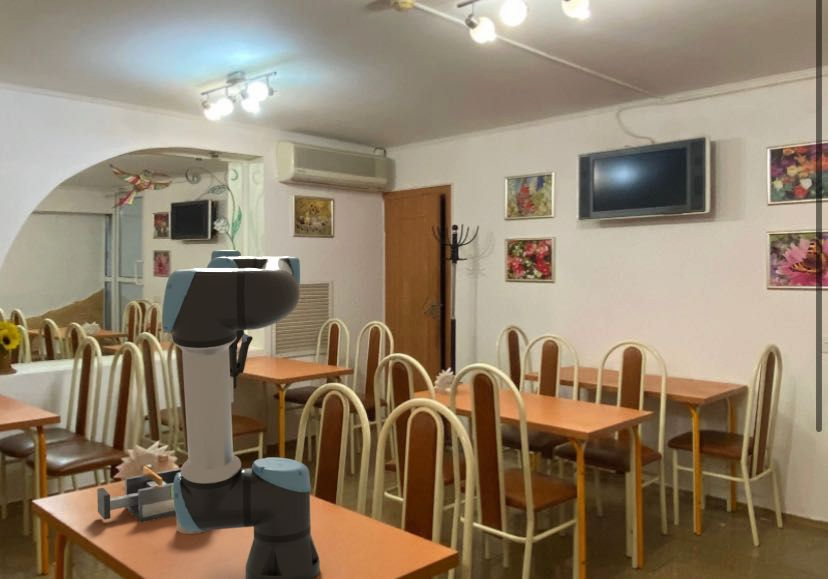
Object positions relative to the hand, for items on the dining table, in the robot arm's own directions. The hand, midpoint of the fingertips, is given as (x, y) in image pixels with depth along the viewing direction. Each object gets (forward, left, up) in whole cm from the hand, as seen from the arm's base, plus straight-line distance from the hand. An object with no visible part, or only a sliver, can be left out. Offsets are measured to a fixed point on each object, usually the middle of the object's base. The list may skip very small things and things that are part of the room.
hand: (228, 401), depth 177 cm
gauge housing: (+16, +11, -29) cm, 35 cm away
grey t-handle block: (+16, +19, -28) cm, 38 cm away
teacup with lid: (-3, +9, -30) cm, 31 cm away
